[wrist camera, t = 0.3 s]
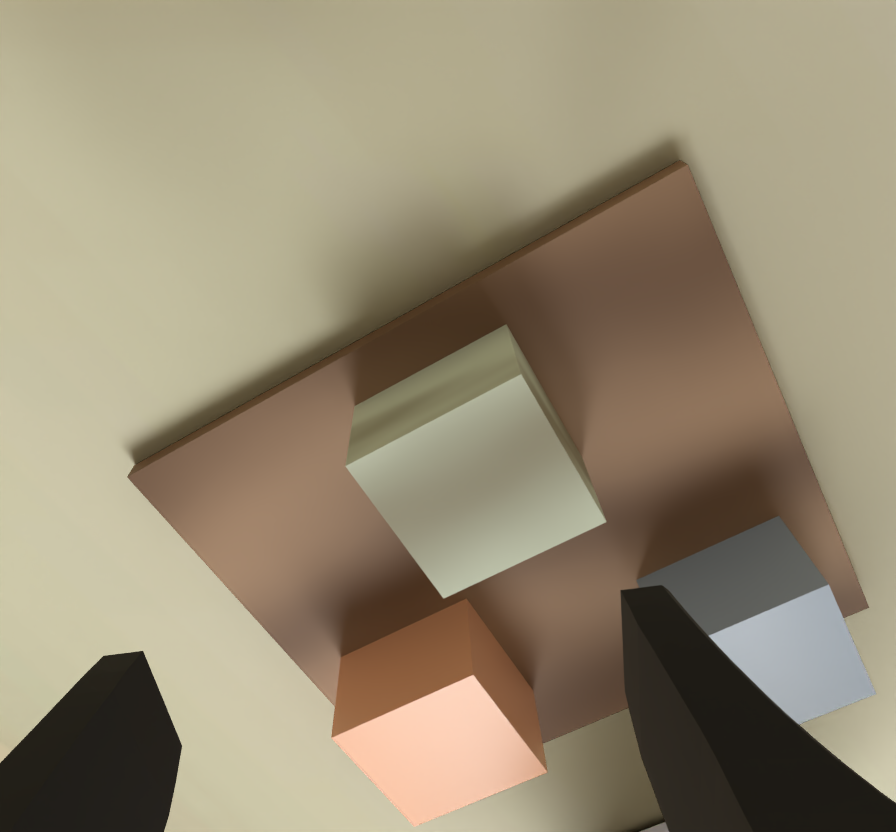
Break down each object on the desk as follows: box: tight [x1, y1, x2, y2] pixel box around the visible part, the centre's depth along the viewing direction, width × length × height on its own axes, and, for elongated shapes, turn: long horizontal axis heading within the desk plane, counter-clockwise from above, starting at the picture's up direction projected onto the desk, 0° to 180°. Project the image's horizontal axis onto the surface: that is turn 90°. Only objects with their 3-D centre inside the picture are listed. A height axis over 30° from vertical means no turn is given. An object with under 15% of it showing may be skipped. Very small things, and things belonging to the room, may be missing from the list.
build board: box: [127, 160, 869, 743], centre depth 21 cm, size 15×16×4 cm
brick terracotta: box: [331, 599, 548, 827], centre depth 23 cm, size 4×4×3 cm
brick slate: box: [636, 516, 876, 724], centre depth 22 cm, size 4×4×3 cm
